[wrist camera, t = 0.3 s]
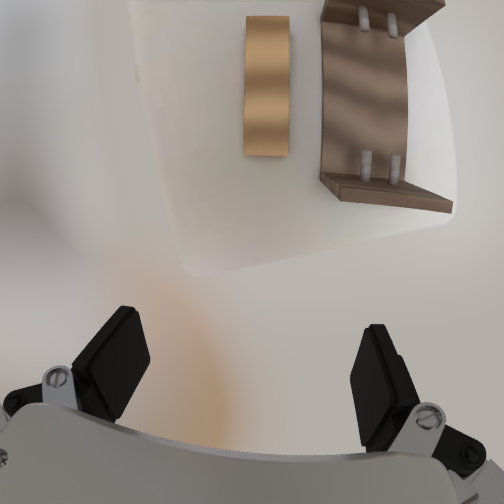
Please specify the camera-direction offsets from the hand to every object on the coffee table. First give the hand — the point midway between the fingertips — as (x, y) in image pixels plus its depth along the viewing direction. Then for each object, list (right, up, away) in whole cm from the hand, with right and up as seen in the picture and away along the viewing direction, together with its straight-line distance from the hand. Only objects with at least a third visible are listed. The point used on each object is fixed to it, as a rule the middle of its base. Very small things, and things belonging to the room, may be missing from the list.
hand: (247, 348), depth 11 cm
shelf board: (+3, +25, +22) cm, 33 cm away
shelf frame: (+15, +24, +20) cm, 35 cm away
